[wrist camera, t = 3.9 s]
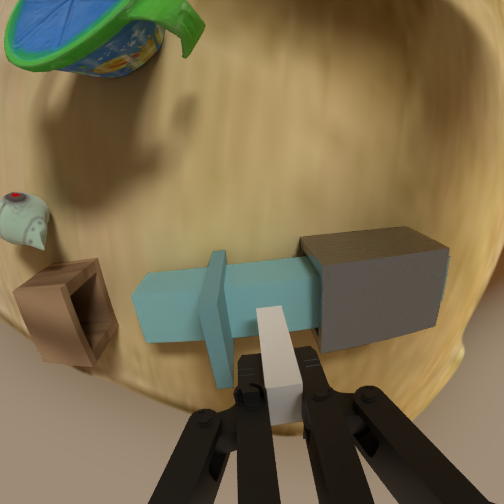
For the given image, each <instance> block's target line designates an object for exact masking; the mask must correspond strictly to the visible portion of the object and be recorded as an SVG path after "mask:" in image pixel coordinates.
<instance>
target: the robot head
mask: <svg viewBox="0 0 504 504" xmlns="http://www.w3.org/2000/svg"><path fill="white" fill-rule="evenodd" d="M49 218H50V211H49V208H48V206H47V204H46V203H45V202H44V201H43V200H42V199H40V198H38V197H37V196H35V195H32V194H28V193H25V192H12V193H10V194H7V195H5V196H4V197H3V198H2V199H1V200H0V237H1V238H3V239H4V240H6V241H7V242H9V243H11V244H18V245H28V246H32V247H35V248H38V249H41V250H45V244H46V238H47V232H48V226H47V223H48V222H49Z"/></svg>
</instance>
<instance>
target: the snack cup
mask: <svg viewBox="0 0 504 504" xmlns="http://www.w3.org/2000/svg"><path fill="white" fill-rule="evenodd" d="M204 28H205V23H204V21H203V20H202V19H201V18H200V17H199V15H198V14H197V13H196V12H195V10H194V9H193V8H192V7H191V5H190V4H189V3H188V2H187V0H19V1H18V2H17V4H16V6H15V7H14V9H13V11H12V14H11V16H10V18H9V20H8V23H7V27H6V31H5V37H4V49H5V53H6V57H7V59H8V61H9V62H11V63H12V64H14V65H15V66H17V67H19V68H21V69H24V70H28V71H32V72H47V71H52V70H59V71H66V72H72V73H78V74H83V75H89V76H94V77H103V78H113V77H121V76H127V75H128V74H129V73H131V72H132V71H134V70H136V69H138V68H139V67H141V66H142V65H143V64H144V63H146V62H147V61H148V60H149V59H150V58H151V57H152V56H153V55H154V54H155V53H156V52H157V51H159V48H160V47H161V45H162V41H163V37H164V34H165V29H166V30H168V31H170V32H172V33H173V34H175V35H176V36H178V37H179V38H180V39H181V43H182V53H183V55H182V57H183V58H185V59H186V58H187V57H188V56H189V55H190V53H191V52H192V50H193V48H194V47H195V45H196V43H197V42H198V40H199V38H200V37H201V35H202V33H203V31H204Z"/></svg>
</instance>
